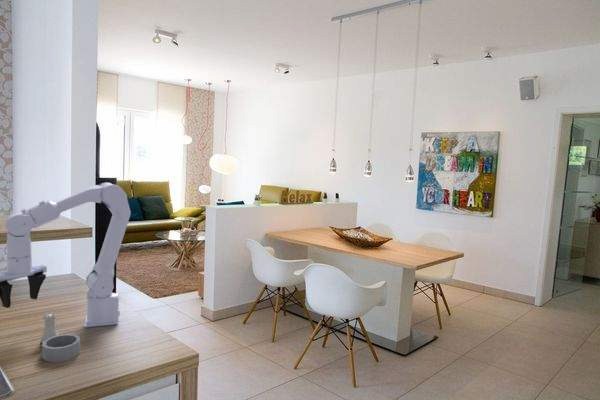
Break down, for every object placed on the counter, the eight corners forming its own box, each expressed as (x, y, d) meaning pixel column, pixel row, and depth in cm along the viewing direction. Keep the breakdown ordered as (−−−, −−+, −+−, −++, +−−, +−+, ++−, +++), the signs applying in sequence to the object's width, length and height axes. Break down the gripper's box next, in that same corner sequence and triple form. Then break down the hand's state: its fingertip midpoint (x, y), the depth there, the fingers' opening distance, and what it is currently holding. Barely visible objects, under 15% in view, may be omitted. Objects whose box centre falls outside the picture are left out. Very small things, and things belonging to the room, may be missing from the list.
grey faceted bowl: (81, 344, 117) (81, 332, 116) (78, 359, 109) (78, 346, 108) (45, 348, 113) (45, 336, 113) (39, 363, 105) (39, 350, 105)
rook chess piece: (55, 336, 121) (55, 309, 120) (61, 341, 118) (61, 313, 117) (38, 340, 117) (37, 313, 117) (44, 346, 115) (44, 318, 114)
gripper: (35, 249, 126) (36, 292, 127) (-18, 259, 112) (-16, 307, 114) (51, 252, 123) (51, 297, 124) (-2, 263, 110) (0, 313, 111)
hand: (20, 302), depth 119 cm, fingers open, 7 cm apart
